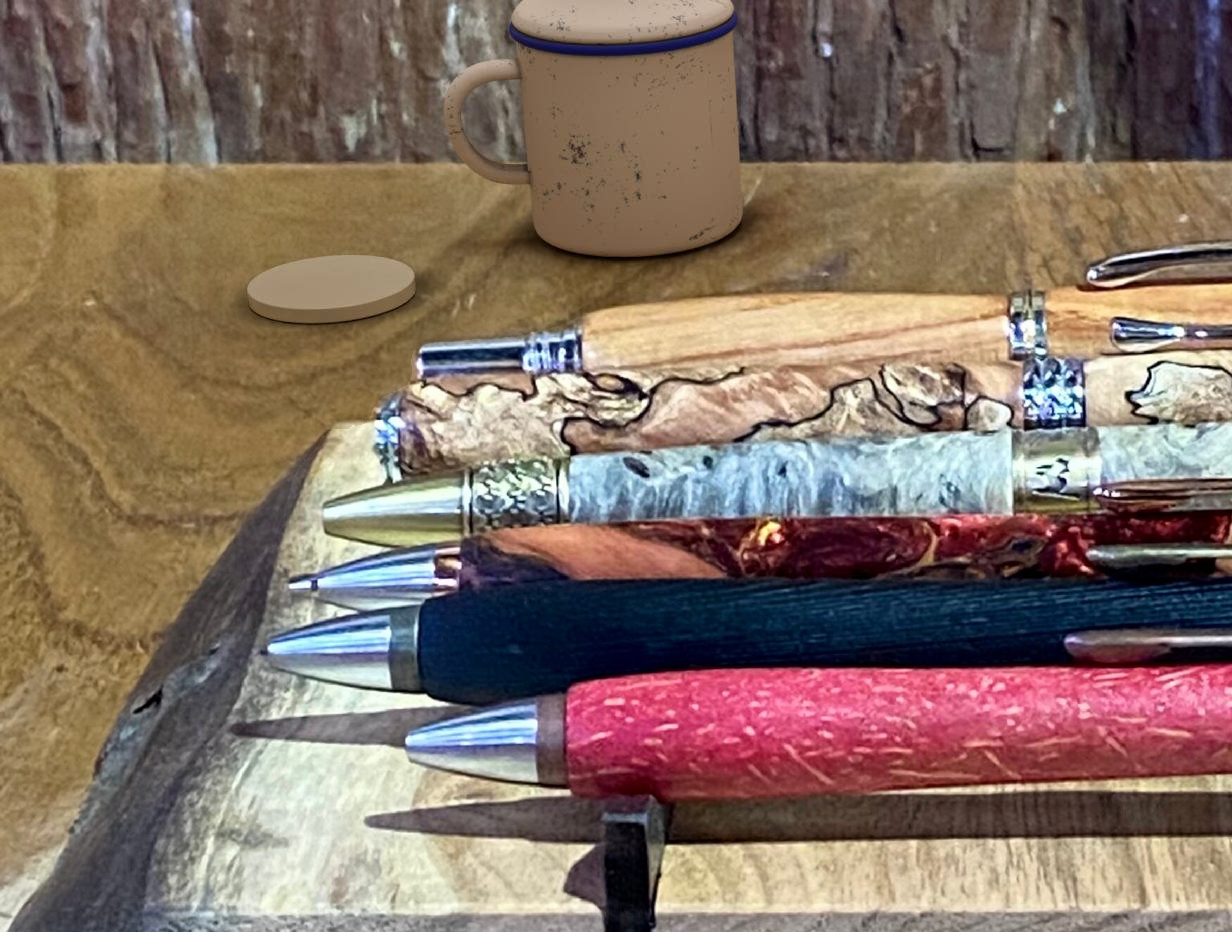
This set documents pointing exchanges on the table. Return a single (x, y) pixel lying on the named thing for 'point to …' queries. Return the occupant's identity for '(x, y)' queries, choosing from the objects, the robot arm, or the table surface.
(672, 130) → the teacup with lid
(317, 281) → the coaster
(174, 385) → the table surface
